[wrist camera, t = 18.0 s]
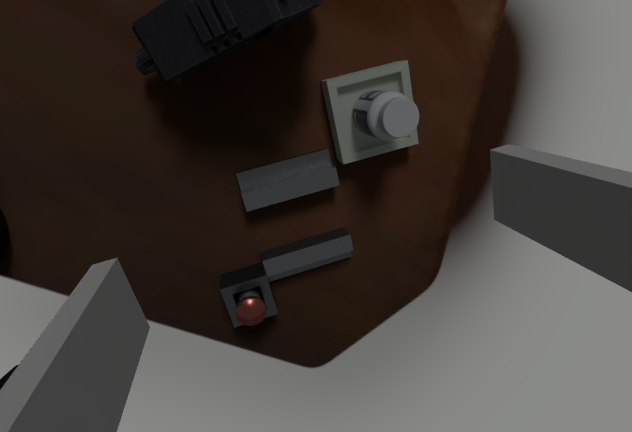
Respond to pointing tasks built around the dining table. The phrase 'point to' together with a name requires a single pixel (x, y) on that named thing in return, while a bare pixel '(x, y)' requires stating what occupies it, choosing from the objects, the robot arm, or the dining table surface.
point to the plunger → (250, 307)
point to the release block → (245, 281)
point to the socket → (287, 184)
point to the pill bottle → (385, 114)
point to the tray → (340, 104)
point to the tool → (206, 31)
